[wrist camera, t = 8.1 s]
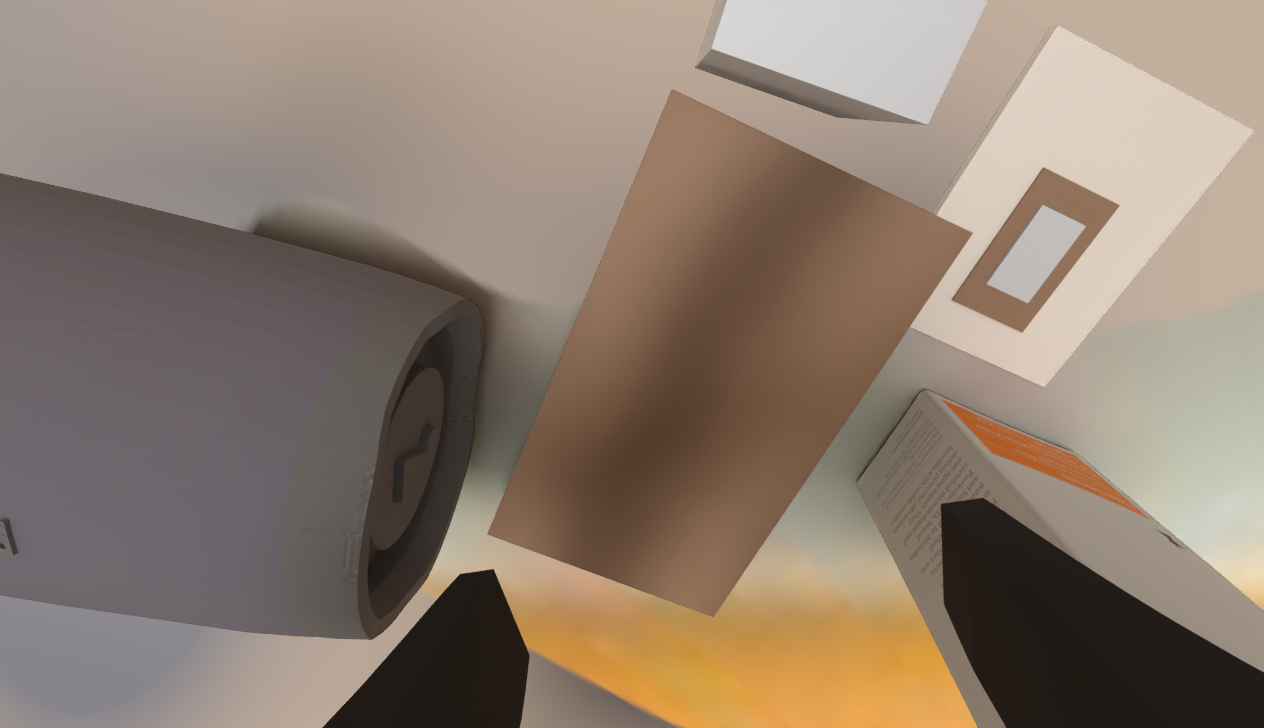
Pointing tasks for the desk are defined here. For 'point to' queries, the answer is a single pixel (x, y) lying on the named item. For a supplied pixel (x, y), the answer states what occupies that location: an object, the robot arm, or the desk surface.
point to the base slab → (716, 356)
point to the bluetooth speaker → (221, 420)
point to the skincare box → (1036, 529)
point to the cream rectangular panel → (1068, 203)
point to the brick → (843, 52)
